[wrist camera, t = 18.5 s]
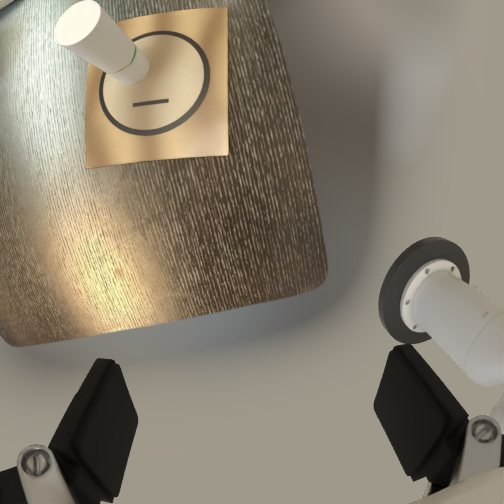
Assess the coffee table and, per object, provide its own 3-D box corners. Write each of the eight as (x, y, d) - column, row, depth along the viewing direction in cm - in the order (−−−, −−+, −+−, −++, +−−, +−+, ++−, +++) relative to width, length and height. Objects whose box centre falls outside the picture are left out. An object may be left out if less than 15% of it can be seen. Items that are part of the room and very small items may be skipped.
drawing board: (227, 10, 27) (227, 5, 26) (228, 155, 33) (228, 155, 32) (95, 30, 26) (91, 26, 25) (89, 168, 32) (84, 169, 31)
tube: (129, 91, 29) (68, 54, 14) (110, 71, 28) (46, 31, 13) (156, 66, 28) (110, 13, 14) (136, 47, 27) (84, -7, 13)
